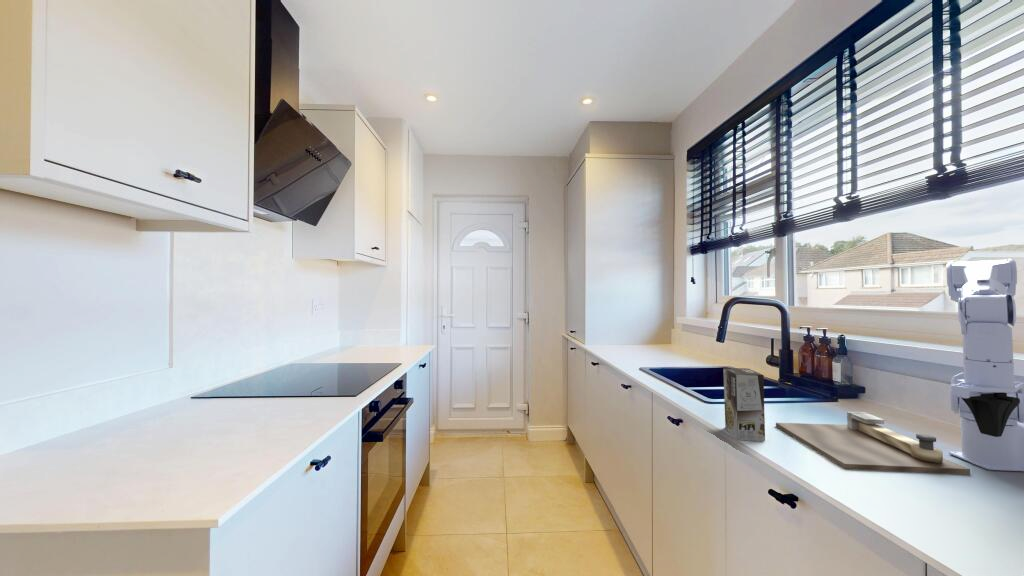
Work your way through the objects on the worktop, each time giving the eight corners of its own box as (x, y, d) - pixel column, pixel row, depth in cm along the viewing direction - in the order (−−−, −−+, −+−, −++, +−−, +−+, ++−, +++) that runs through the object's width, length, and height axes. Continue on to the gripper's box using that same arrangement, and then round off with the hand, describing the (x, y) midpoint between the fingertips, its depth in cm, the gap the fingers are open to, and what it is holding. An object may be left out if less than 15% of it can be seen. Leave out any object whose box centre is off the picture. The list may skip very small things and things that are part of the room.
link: (949, 463, 75) (948, 440, 76) (924, 462, 76) (923, 440, 76) (875, 431, 93) (875, 413, 94) (856, 430, 94) (855, 412, 94)
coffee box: (766, 442, 91) (764, 374, 91) (737, 440, 92) (735, 374, 92) (750, 429, 100) (749, 367, 100) (724, 427, 101) (722, 367, 101)
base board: (867, 429, 98) (866, 410, 98) (970, 474, 73) (968, 448, 73) (775, 426, 101) (775, 407, 101) (844, 468, 76) (843, 443, 76)
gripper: (987, 355, 74) (990, 424, 74) (928, 358, 72) (931, 430, 71) (1042, 361, 67) (1046, 437, 67) (980, 364, 65) (983, 444, 65)
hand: (990, 434), depth 69 cm, fingers closed
